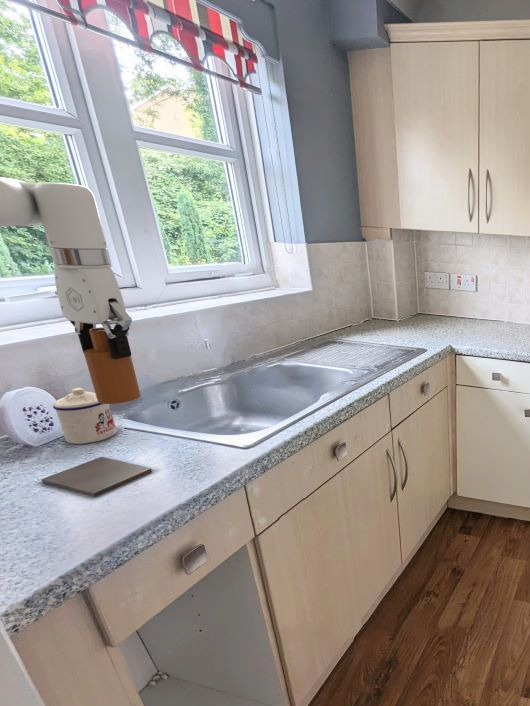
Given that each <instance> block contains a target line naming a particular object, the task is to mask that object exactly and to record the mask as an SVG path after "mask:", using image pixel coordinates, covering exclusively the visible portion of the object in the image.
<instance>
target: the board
mask: <svg viewBox="0 0 530 706" xmlns="http://www.w3.org/2000/svg"><path fill="white" fill-rule="evenodd" d="M152 471H153V470H152V468H151V467H148V466H147V467H146V466H143V465H138V464H134V463H130V462H126V461H121V460H117V459H113V458H109V457H105V456H99V457H97V458H94V459H91V460H88V461H86V462H83V463H81V464H78V465H76V466H72V467H70V468H68V469H65V470H62V471H60V472H57V473H54V474H51V475H49V476H46V477H44V478H41V482H42V484H44V485H45V484H46V485H49V486H53V487H57V488H60V489H64V490H68V491H71V492H76V493H79V494H83V495H86V496H90V497H94V498H96V497H98V496H101V495H103V494H105V493H107V492H110V491H112V490H114V489H116V488H119V487H121V486H123V485H125V484H128V483H131V482H132V481H135V480H137V479H139V478H141V477H144V476H146V475H149V474H150V473H152Z"/></svg>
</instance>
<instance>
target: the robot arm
mask: <svg viewBox="0 0 530 706" xmlns="http://www.w3.org/2000/svg"><path fill="white" fill-rule="evenodd" d="M27 226H28V227H29V226H42V227H43V230H44V231H43V232H44V235H45V238H46V242H47V245H48V248H49V251H50V255H51V258H52V262H53V265H54V266H53V269H54V270H53V273H54V274H53V275H54V283H55V288H56V293H57V299H58V301H59V302H58V303H59V307H60V310H61V314H62V316H63V318H64V319H66V320H68V321H69V322H70V324H71V325H72V326H73V327H74V332H75V333H76V334H77V336H78V339H79V343H80V346H81V350H82V353H83V354H84V351H85V350H88V349H91V348H94V347H93V343H92V340H91V336H90V332H89V330H90V329H93V328H97V325H101V326H102V328H104V330H105V331H106V333H107V335H108V337H109V338H106V340H107V344H108V348H109V351H110V355H111V358H112V359H119V358H124V357H129V356H131V357H132V350H131V346H130V342H129V338H128V336H129V335H130V334H129V330H130V325H131V324H132V323H133V318H132V317H131V316H130V315H129V313H127V311H126V309H127V308H126V304H125V302H124V297H123V295H122V291H121V289H120V286H119V283H118V280H117V277H116V275H115V272H114V271H113V268H112V267H113V265H112V262H111V258H110V254H109V249H108V247H107V245H108V244H107V240H106V237H105V232H104V229H103V225H102V221H101V217H100V213H99V209H98V204H97V200H96V197H95V195H94V193H93V192H92V190H91V189H90V188H88V187H87V186H84V185H79V184H75V183H66V182H65V183H63V182H51V181H50V182H49V181H40V182H36V183H35V182H30V181H24V180H19V179H14V178H9V177H8V178H7V177H3V176H0V227H27ZM112 326H114V327H112ZM112 328H113V329H112Z"/></svg>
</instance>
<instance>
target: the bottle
mask: <svg viewBox="0 0 530 706" xmlns="http://www.w3.org/2000/svg"><path fill="white" fill-rule="evenodd" d="M111 328H112V329H114V327H111ZM89 332H90V336H91V340H92V343H93V347H94V348H91V349H88V350H85V351H84V353H83V355H84V356H83V357H84V360H85V363H86V366H87V369H88V373H89V377H90V380H91V383H92V387H93V390H94V393H95V394H96V398H97V400H98V402H99V403H102V404H109V405H114V404H115V405H116V404H122V403H123V404H124V403H129V402H132V401H135V400H137V399H140V397H141V390H140V386H139V382H138V377H137V374H136V370H135V367H134V363H133V359H132V355H131V356H129V357H124V358H119V359H112V358H111V355H110V351H109V348H108V344H107V340H106V338H109V337H108V335H107V333H106V331H105V330H104V328H103V327H96V328H93V329H90V330H89Z"/></svg>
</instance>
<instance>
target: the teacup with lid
mask: <svg viewBox="0 0 530 706" xmlns="http://www.w3.org/2000/svg"><path fill="white" fill-rule="evenodd" d="M52 408H53V410H55V412H56V415H57V418H58V421H59V424H60V427H61V431H62V433H63V436H64V439H65V442H67V443H68V444H72V445H73V444H74V445H84V444H90V443H97V442H100V441H103V440H106V439H109V438H111V437H113V436H114V435H115V434H116V433H117V431H118V430H117V427H116V423H115V420H114V417H113V413H112V410H111V407H110V404H102V403H99V402H98V400H97V398H96V394H95V392H92V391H86V390H85V389H84V388H83V387H75V388H73V389H71V393H69V394H67V395H66V396H64V397H61V398H59V399H57V400H56V401H54V402H53V405H52Z"/></svg>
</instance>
